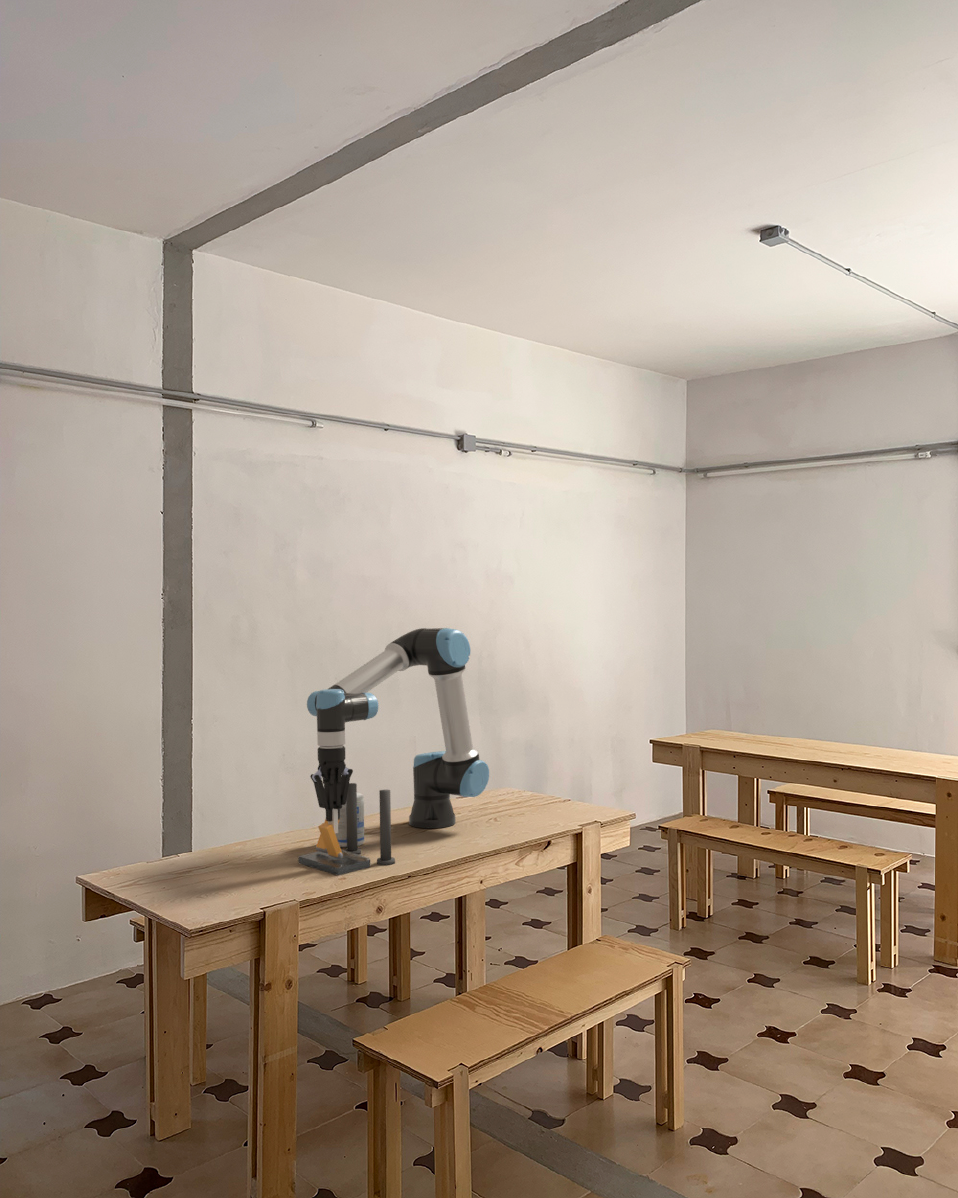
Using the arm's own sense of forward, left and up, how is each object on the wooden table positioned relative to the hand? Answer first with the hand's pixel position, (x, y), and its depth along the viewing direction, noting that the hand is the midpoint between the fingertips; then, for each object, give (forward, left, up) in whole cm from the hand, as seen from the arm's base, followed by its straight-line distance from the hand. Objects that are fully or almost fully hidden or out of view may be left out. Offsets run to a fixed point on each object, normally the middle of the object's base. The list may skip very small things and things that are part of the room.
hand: (333, 832), depth 265 cm
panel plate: (-1, -2, -10) cm, 10 cm away
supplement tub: (-18, -17, -10) cm, 27 cm away
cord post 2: (-12, +7, -10) cm, 17 cm away
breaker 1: (-1, 0, -8) cm, 8 cm away
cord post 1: (-12, -8, -10) cm, 17 cm away
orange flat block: (-1, -8, -8) cm, 11 cm away
